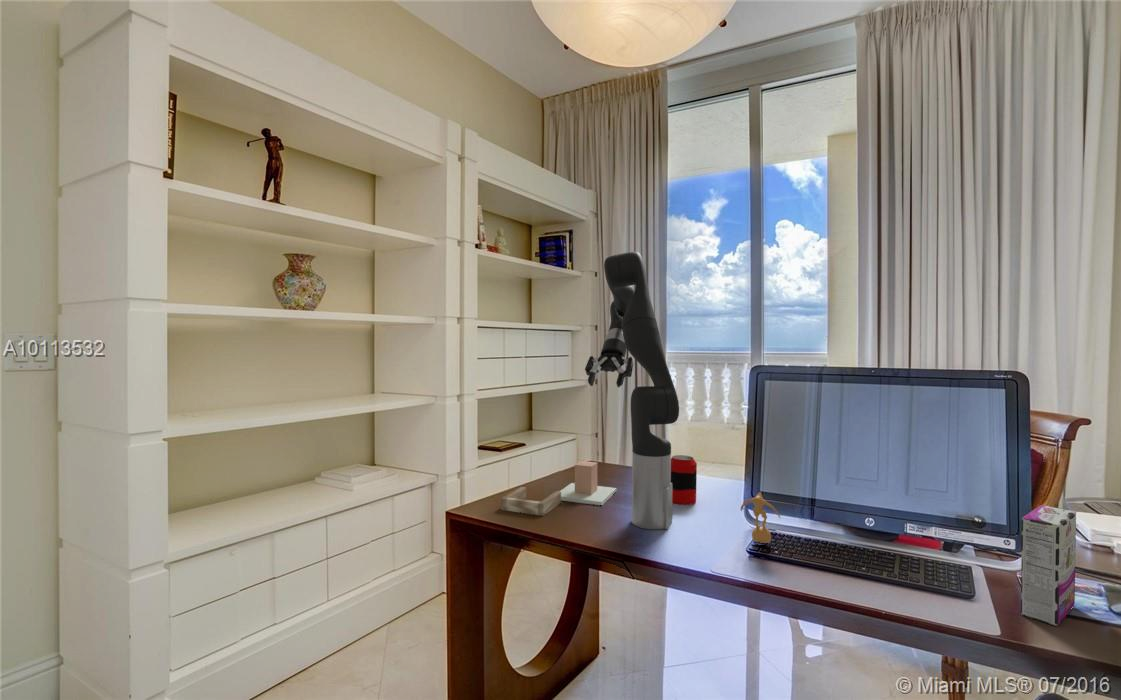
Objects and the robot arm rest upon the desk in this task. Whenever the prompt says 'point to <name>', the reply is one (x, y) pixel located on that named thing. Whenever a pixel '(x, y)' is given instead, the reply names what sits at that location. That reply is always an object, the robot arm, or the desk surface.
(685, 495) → the soda can
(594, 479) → the terracotta block
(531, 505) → the maple bay
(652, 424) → the robot arm
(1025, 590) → the candy bar box
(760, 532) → the figurine
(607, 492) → the sage mat
